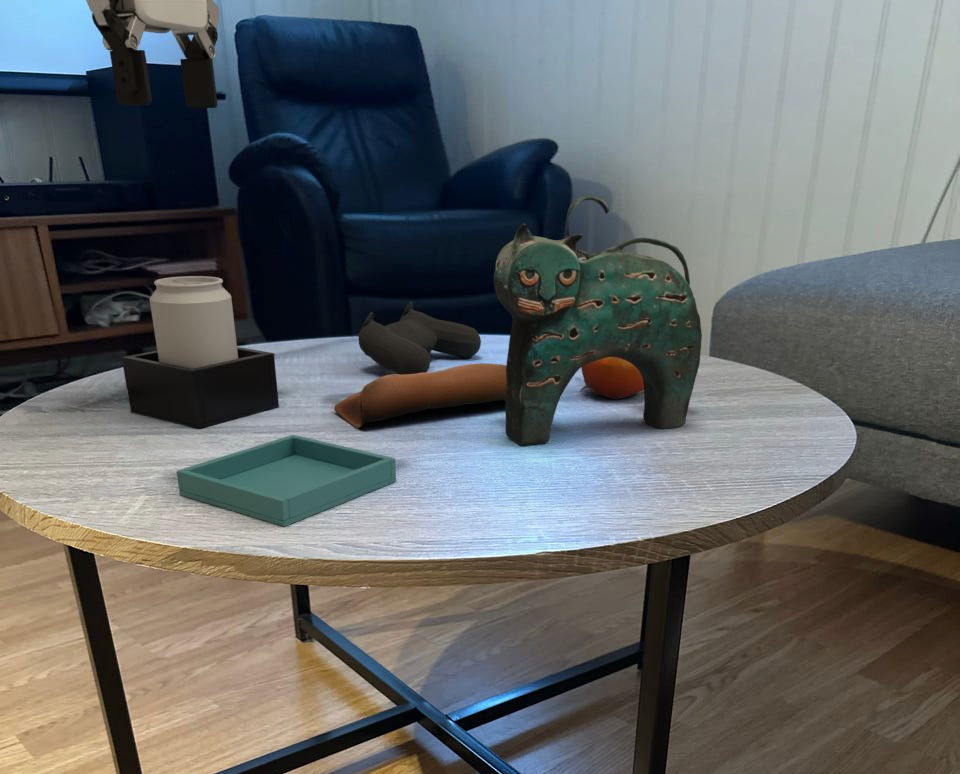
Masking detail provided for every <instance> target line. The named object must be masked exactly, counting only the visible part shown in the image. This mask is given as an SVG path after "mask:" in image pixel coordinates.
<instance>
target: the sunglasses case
mask: <svg viewBox="0 0 960 774" xmlns="http://www.w3.org/2000/svg"><path fill="white" fill-rule="evenodd" d="M506 365H507V364H501V363H500V364H497V363H484V362H483V363H481V362H480V363H469V364H468V363H467V364H462V365H457V366H452V367H449V368H445V369H441V370H437V371H428V372H424V373H417V374H404V375H400V374H398V373H390V374H385V375H382V376H380V377H378V378H376V379H374V380H372V381H370V382H369V383H367V384H365V385H364V386H363V387H362V389H361V391H359V392H356V393H353V394H351V395H350V396H347V397H345V398H344V399H343V400H342V401H339V402H338V403H337V404H335V405H334V409H333V410H334V411H335V412H336V413H337V414H338V416H339V417H340V418H342V419H343V420H344V421H345V422H346V423H348V424H349V425H351V426H352V427H354V428H355V429H360V428H361V427H363V426H364V424H365V423H366V422H367V423H373V422H377V421H378V422H379V421H383V420H387V419H388V420H389V419H393V418H396V417H402V416H404V415H407V414H408V413H409V414H415V413H418V412H421V411H425V410H427V409H431V410H435V409H444V408H445V409H446V408H454V407H459V406H463V405H469V404H470V405H475V404H484V403H489V402H496V401H506V386H507V380H506Z"/></svg>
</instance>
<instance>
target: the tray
mask: <svg viewBox="0 0 960 774" xmlns="http://www.w3.org/2000/svg"><path fill="white" fill-rule="evenodd" d="M396 465H397V464H396V458H395V457H392V456H387V455H382V454H378V453H374V452H370V451H366V450H361V449H357V448H353V447H348V446H344V445H340V444H336V443H331V442H326V441H323V440H318V439H313V438H309V437H305V436H300V435H296V434H291V435H288V436H284V437H281V438H278V439H275V440H272V441H268V442H265V443H262V444H258V445H255V446H252V447H249V448H246V449H242V450H240V451H235V452H233V453H230V454H226V455H223V456H220V457H217V458H213V459H210V460H207V461H205V462H201V463H198V464H194V465H191V466H188V467H185V468H181V469H179V470H176V477H177V484H178V489H179V492H178V493H179V495H180V496H183V497H187V498H189V499H192V500H196V501H198V502H199V501H200V502H202V503H206V504H210V505H212V506H216V507H219V508H222V509H226V510H229V511H232V512H236V513H239V514H242V515H245V516H249V517H252V518H254V519H255V518H256V519H258V520H262V521H265V522H268V523H271V524H275V525H277V526H281V527H287V526H289V525H292V524H294V523H297V522H299V521H301V520H304V519H307V518H308V517H311V516H314V515H316V514H319V513H322V512H324V511H326V510H329V509H332V508H334V507H336V506H339V505H341V504H345V503H346V502H348V501H351V500H353V499H356V498H358V497H361V496H363V495H366V494H368V493H371V492H373V491H376V490H378V489H381V488H383V487H386V486H388V485H390V484H391V485H392V484H393V483H396V482H397V470H396Z"/></svg>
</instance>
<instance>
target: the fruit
mask: <svg viewBox="0 0 960 774" xmlns="http://www.w3.org/2000/svg"><path fill="white" fill-rule="evenodd" d="M580 369H581V375H582V377H583V381H584V386H583V387H581V388H580V390H579V392H582V391H583V390H586V389H590V390H591V391H592V392H593V393H595V394H597V395H598V396H599V395H600V396H602V397H605V398H609V399H611V400H619V399H623V398H624V399H625V398H628V397H631V396H633V395H636V394H639V393H641V392H644V384H643V378H642V375H641V374H640V372H639V370H638V369H637V368H636V367H635V366H634V365H632V364H631V363H630V362H628V361H626V360H623V359H620V358H616V357H607V358H603V359H599V360H596V361H594V362H591V363H588V364H586V365H584V366H582V367H581V368H580Z"/></svg>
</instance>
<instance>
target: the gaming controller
mask: <svg viewBox="0 0 960 774" xmlns="http://www.w3.org/2000/svg"><path fill="white" fill-rule="evenodd" d="M374 319H375V313H374V312H373V311H370V313H369V314H368V315H367V317H366V319H364V322H363V324H362V326H361V327H360V329H359V331H358V345H359V348H360V350H361V351H362V352H363V353H364V355H365V356H367V357H368V358H369V357H370V359H372V361H373V362H375V363H376V364H378V365H379V366H381V367H383V368H385V369H386V370H388V371H391V372H394V373H395V374H400V375H404V374H417V373H424V372H426V373H428V372H429V368H430V364H431V357H430V355H431V353H432V351H433V352H437V353H440V354H446V355H449V356H453V357H457V358H464V359H470V358H472V357H474V356H475V355H476V354H477V353H478V352H479V351H480V349H481V346H482V340H481V336H480V334H479V332H478V331H477V330H476V329H475V328H474V327H472V326H468V325H465V324H462V323H457V322H453V321H448V320H442V319H439V318H434V317H432V316H430V315H427V314H426V313H424V312H421V311H417V310H414V302H413V301H409V302H408V303H407V305H406V307H405V308H404V310H403V312H402V314H401V316H400V318H399V320H398V321H396V322H393V323H389V324H387V325H385V326H384V325H383V324H381V323H378V322H377V321H375V320H374Z"/></svg>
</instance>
